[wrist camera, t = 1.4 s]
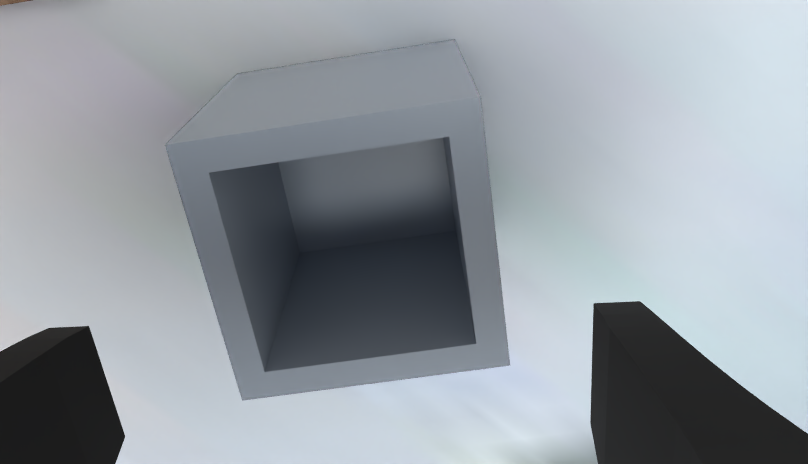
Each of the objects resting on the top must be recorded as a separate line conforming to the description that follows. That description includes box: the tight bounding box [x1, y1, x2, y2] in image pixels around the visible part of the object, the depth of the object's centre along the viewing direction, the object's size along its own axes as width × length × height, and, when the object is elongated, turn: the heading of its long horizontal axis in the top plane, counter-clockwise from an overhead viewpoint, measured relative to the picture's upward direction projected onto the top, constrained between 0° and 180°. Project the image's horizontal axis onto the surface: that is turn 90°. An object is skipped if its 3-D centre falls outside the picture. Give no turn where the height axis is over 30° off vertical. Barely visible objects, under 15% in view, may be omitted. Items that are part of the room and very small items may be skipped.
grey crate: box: [165, 39, 510, 400], centre depth 16 cm, size 5×5×6 cm
